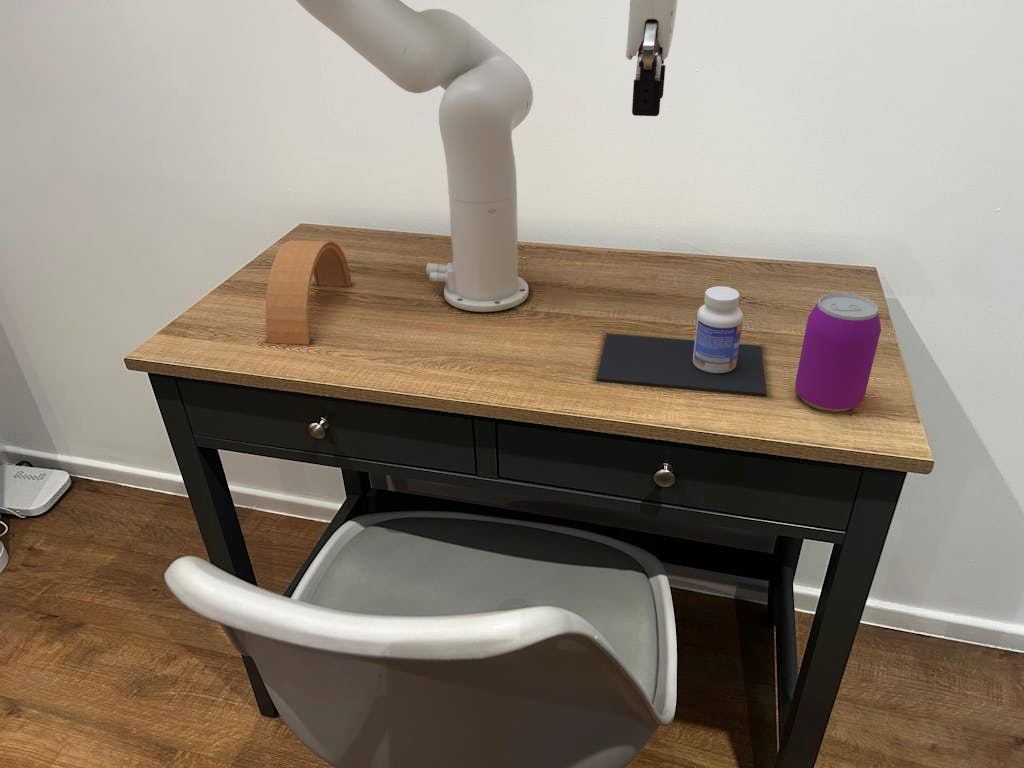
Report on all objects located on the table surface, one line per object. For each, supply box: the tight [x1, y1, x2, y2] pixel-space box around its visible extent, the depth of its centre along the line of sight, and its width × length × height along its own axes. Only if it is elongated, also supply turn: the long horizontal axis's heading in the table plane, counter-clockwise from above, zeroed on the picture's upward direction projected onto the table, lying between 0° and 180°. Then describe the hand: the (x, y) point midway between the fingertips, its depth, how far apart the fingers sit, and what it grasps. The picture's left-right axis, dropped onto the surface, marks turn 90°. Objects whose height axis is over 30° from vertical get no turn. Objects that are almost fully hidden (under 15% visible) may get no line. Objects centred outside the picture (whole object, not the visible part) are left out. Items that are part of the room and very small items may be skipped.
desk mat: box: [596, 333, 767, 397], centre depth 101 cm, size 20×12×1 cm, turn 78°
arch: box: [265, 239, 352, 345], centre depth 114 cm, size 6×20×10 cm, turn 173°
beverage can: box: [794, 292, 882, 413], centre depth 91 cm, size 8×8×12 cm
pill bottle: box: [693, 285, 744, 374], centre depth 98 cm, size 5×5×10 cm
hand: (647, 106), depth 100 cm, fingers open, 9 cm apart
